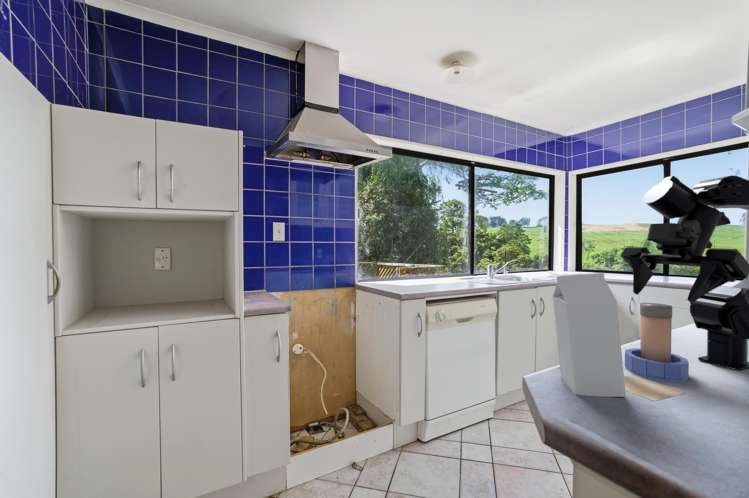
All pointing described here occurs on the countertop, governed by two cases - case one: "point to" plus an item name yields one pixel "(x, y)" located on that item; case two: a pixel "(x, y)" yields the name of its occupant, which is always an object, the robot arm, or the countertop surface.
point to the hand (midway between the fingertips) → (660, 296)
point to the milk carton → (588, 336)
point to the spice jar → (655, 332)
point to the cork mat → (649, 388)
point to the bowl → (657, 367)
